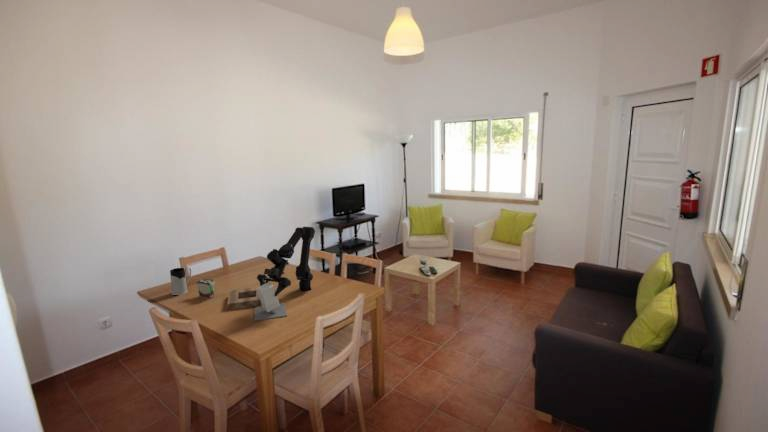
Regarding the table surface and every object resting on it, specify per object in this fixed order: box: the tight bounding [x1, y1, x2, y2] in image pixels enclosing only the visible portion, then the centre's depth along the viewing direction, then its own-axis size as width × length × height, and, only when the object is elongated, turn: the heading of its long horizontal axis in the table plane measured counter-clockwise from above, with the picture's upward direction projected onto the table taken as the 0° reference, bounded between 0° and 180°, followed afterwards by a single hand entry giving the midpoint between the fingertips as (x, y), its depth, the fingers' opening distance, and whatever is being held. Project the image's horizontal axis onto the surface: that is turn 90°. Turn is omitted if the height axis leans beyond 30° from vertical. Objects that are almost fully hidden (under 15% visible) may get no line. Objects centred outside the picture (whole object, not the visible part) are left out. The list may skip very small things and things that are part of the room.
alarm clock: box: [196, 278, 216, 300], centre depth 214 cm, size 12×6×10 cm, turn 65°
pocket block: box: [226, 286, 262, 311], centre depth 208 cm, size 20×20×4 cm
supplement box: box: [256, 281, 281, 312], centre depth 190 cm, size 7×7×13 cm
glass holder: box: [169, 267, 192, 296], centre depth 221 cm, size 9×14×15 cm, turn 164°
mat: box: [254, 302, 288, 322], centre depth 193 cm, size 16×16×1 cm
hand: (267, 294), depth 190 cm, fingers closed on supplement box, 9 cm apart
